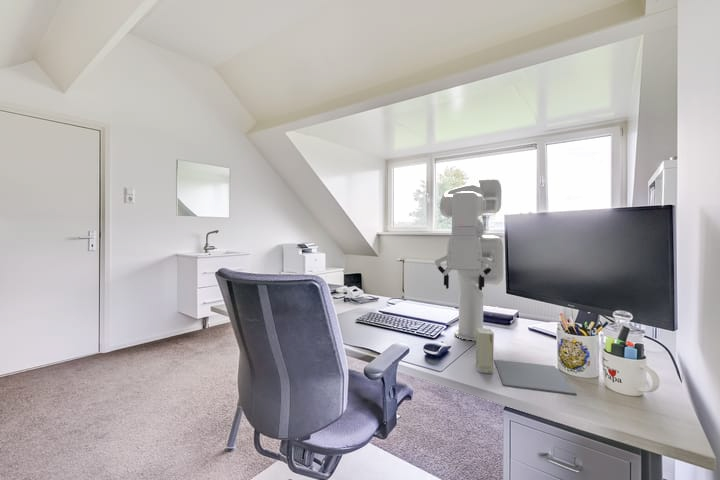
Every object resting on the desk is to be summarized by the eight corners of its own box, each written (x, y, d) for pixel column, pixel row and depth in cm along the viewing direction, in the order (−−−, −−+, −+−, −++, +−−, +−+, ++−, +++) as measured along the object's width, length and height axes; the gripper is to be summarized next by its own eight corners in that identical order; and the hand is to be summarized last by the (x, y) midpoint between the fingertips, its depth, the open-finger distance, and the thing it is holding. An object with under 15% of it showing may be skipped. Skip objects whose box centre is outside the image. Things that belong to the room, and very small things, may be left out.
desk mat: (494, 360, 107) (494, 359, 107) (554, 367, 102) (554, 365, 102) (503, 385, 90) (503, 384, 90) (576, 394, 85) (576, 393, 85)
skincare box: (493, 374, 97) (494, 334, 97) (478, 372, 98) (479, 333, 97) (489, 365, 103) (490, 328, 103) (475, 364, 104) (476, 327, 104)
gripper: (492, 232, 99) (491, 287, 99) (435, 232, 103) (434, 285, 103) (497, 233, 91) (495, 292, 92) (435, 232, 95) (434, 289, 96)
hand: (463, 288), depth 98 cm, fingers open, 9 cm apart
